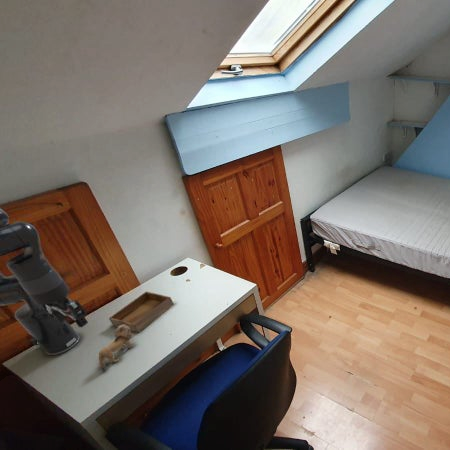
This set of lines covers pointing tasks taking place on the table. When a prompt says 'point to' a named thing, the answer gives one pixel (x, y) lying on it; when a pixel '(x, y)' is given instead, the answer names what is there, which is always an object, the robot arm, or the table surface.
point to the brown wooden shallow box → (142, 311)
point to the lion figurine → (116, 345)
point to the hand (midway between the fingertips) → (73, 322)
